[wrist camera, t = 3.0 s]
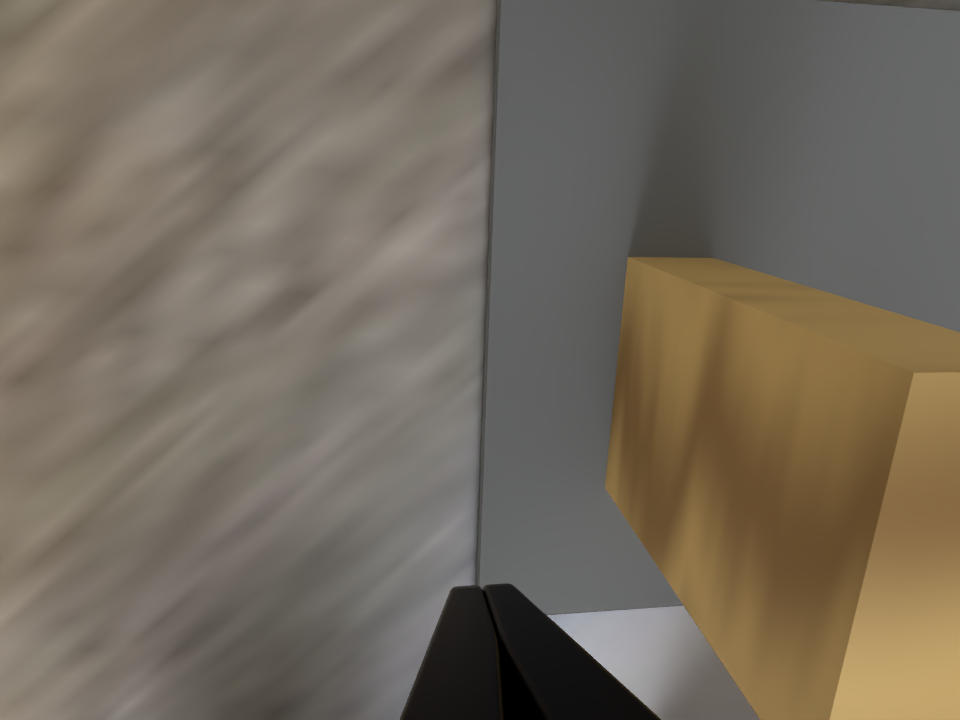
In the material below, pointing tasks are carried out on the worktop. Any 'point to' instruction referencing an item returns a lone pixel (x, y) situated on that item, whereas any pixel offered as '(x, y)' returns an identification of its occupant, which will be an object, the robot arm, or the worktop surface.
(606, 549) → the rubber mat
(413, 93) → the worktop surface
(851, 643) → the ochre block
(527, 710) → the robot arm
